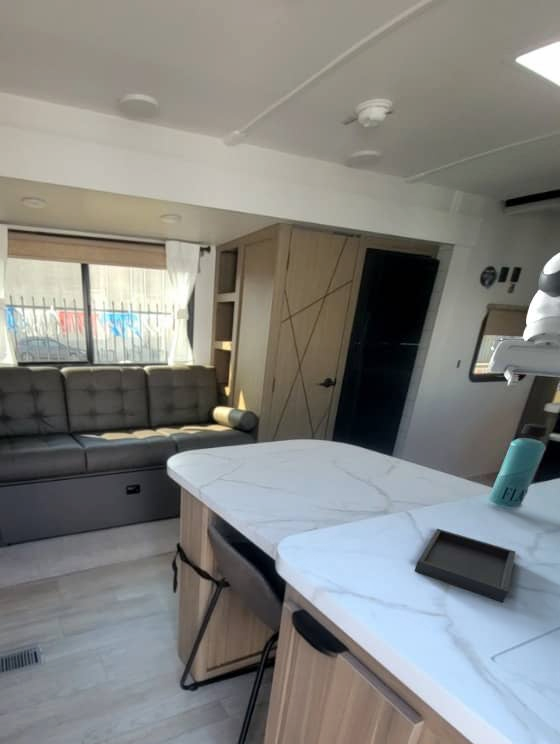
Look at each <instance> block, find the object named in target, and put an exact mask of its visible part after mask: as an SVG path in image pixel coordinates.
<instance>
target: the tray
mask: <svg viewBox="0 0 560 744" xmlns="http://www.w3.org/2000/svg"><path fill="white" fill-rule="evenodd" d="M515 557H516V551H515V550H512V549H509V548H505V547H502V546H500V545H499V546H498V545H495V544H491V543H488V542H484V541H481V540H478V539H475V538H471V537H468V536H464V535H461V534H458V533H454V532H452V531H448V530H445V529H440V528H436V530H435V532H434V533H433V535H432V537H431V538H430V540H429V542H428V543H427V545H426V546H425V548H424V550H423V552H422V553H421V555H420V557H419V558H418V560H417V562H416V565H415V567H414V572H416V573H419V574H422V575H425V576H428V577H430V578H433V579H435V580H439V581H441V582H444V583H447V584H450V585H453V586H455V587H458V588H461V589H464V590H467V591H469V592H472V593H475V594H477V595H481V596H484V597H486V598H489V599H491V600H495V601H498V602H500V603H504V601H505V599H506V597H507V595H508V593H509V589H510V584H511V579H512V574H513V573H512V572H513V567H514V562H515Z"/></svg>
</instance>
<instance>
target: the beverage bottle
mask: <svg viewBox="0 0 560 744" xmlns="http://www.w3.org/2000/svg"><path fill="white" fill-rule="evenodd" d="M547 430H548V426H546V425H542V424H538V423H536V424H535V423H525V425H523V428H522V429H521V430H520V431H521V432H520V433H521V434H523V435H526V436H531V437H537V438H538V437H539V438H543V437H545V436H546V435H547V433H546V432H547ZM546 449H547V447H546V445H545V444H544V443H543V441H541V440H538V439H534V438H529V437H528V438H527V437H519V438H516V439H514V440H512V441H510V444H509V448H508V450H507V452H506V455H505V457H504V460H503V462H502V465H501V467H500V469H499V472H498V473H497V476H496V478H495V480H494V483H493V485H492V488H491V490H490V493H489V496H488V500H489V502H491V503H493V504H495V505H498V506H501V507H504V508H505V507H506V508H513V509H516V508H517V509H518V508H520V507H521V505H522V503H523V502H524V500H525V498H526V495H527V494H528V490H529V487H530V486H531V485H532V482H533V478H534V477H535V474H536V473H537V471H538V468H539V467H540V463H541V461H542V459H543V455H544V453H545V451H546ZM523 504H524V503H523Z"/></svg>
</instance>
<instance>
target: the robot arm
mask: <svg viewBox="0 0 560 744" xmlns="http://www.w3.org/2000/svg"><path fill="white" fill-rule="evenodd" d="M525 324H526V326H525V328H524V330H523V334H522V338H508V337H502V338H500V339H497V340H494V341H493V342H492V344H491V351H492V352H493V353H492V355H491V357H490V360H489V362H488V366H487V369H488V370H489V371H490V372H493V373H503V376H504V377H505V379H506V381H507V387H516V386H517V385H518V382H519V376H517V374H518V375H527V376H528V375H529V376H539V377H551V378H554V377H555V378H560V251H558V252H557V253H556V254H554V255H553V256H552V257H551V258H549V260H547V262H546V263H545V264H544V265H543V267H542V269H541V271H540V274H539V278H538V290H537V292H536V293H535V295H534V296H533V298H532V300H531V301H530V304H529V307H528V310H527V313H526V320H525ZM515 374H516V376H515ZM556 391H559V392H560V382H559V383H558V384H557V387H556Z"/></svg>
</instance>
